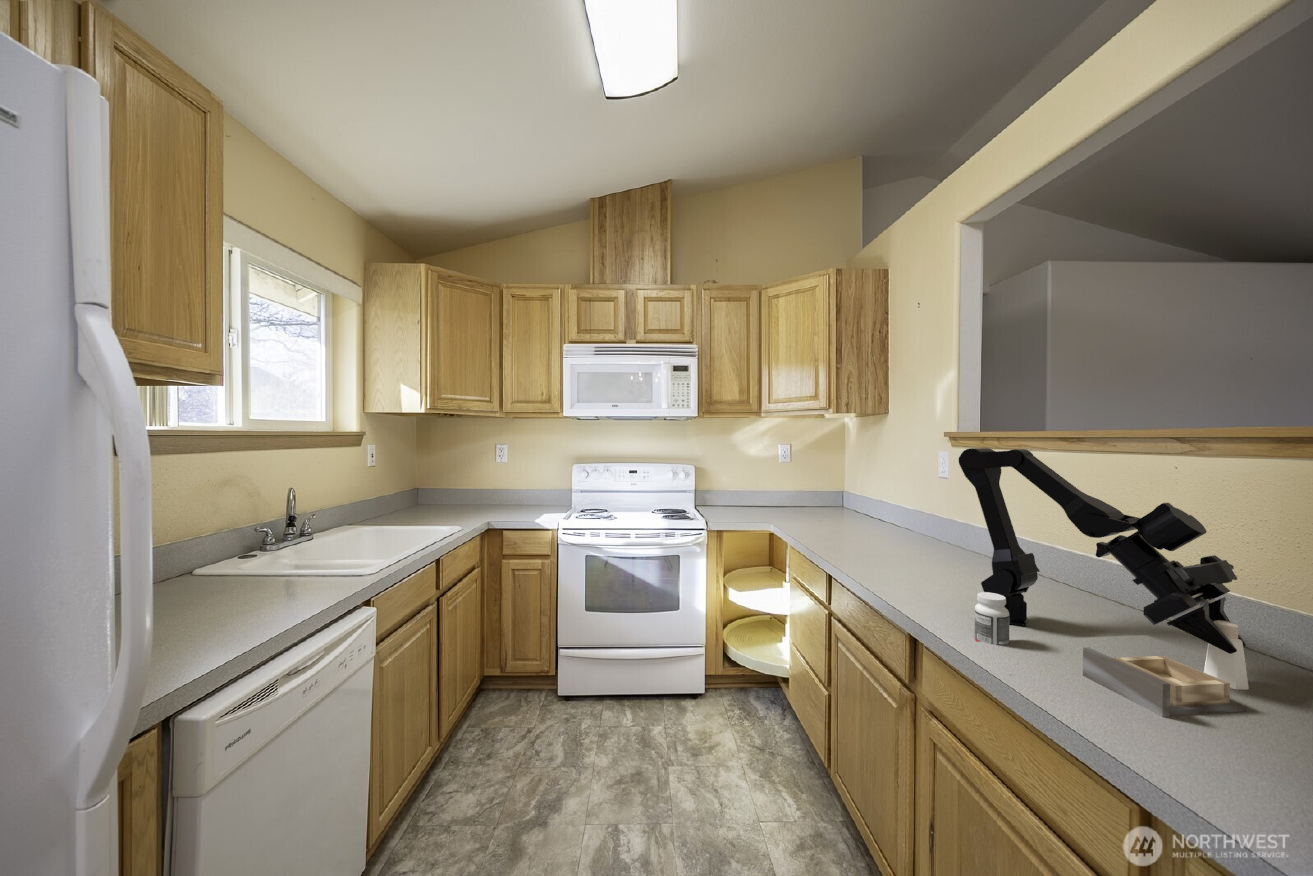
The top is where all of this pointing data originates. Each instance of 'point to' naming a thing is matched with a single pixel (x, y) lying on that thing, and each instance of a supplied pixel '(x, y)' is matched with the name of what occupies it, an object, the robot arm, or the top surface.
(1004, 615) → the pill bottle
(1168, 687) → the open wooden tray
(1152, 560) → the robot arm
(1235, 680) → the pepper shaker
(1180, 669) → the light wooden tray
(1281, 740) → the top surface
